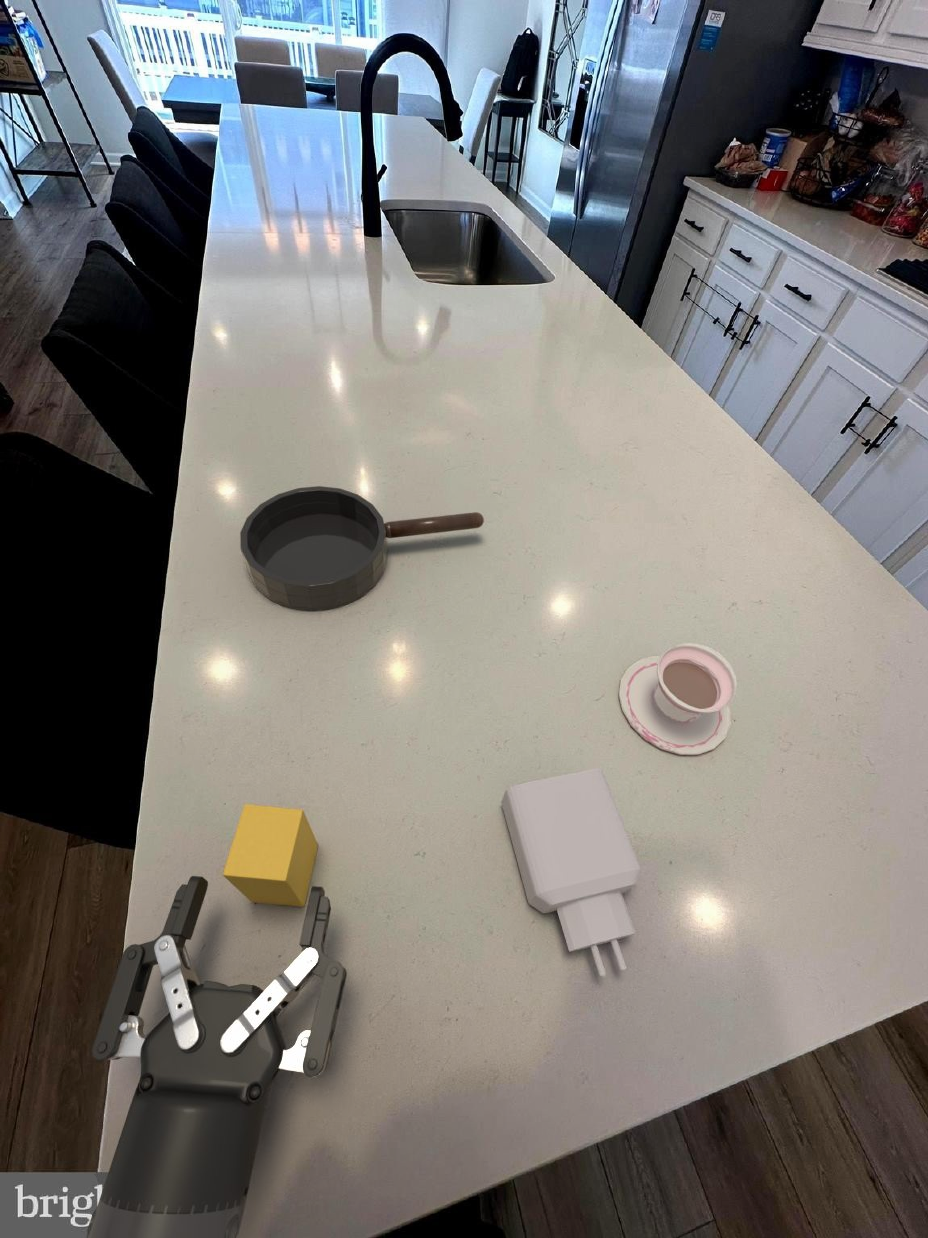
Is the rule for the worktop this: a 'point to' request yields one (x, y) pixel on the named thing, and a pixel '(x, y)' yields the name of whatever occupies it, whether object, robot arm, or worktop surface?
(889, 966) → the worktop surface
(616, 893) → the charger
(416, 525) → the pan handle
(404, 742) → the worktop surface
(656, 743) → the teacup
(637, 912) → the worktop surface
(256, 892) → the cheese
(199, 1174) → the robot arm
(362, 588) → the pan
